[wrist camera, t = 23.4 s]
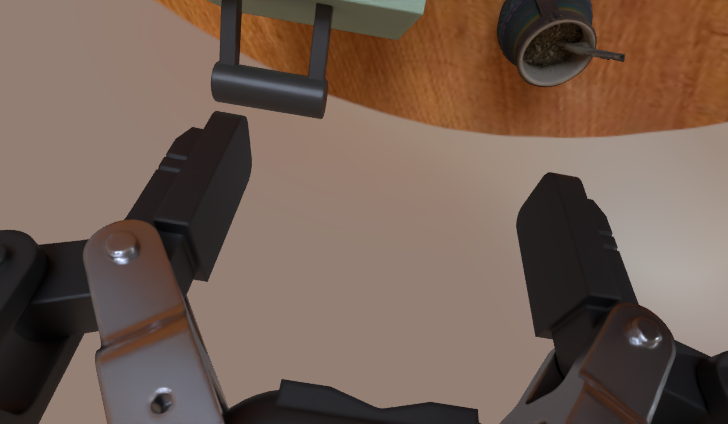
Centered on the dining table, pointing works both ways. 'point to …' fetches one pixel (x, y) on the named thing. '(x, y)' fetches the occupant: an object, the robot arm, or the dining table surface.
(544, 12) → the mate gourd
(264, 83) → the chest lid
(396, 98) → the dining table surface
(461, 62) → the dining table surface
